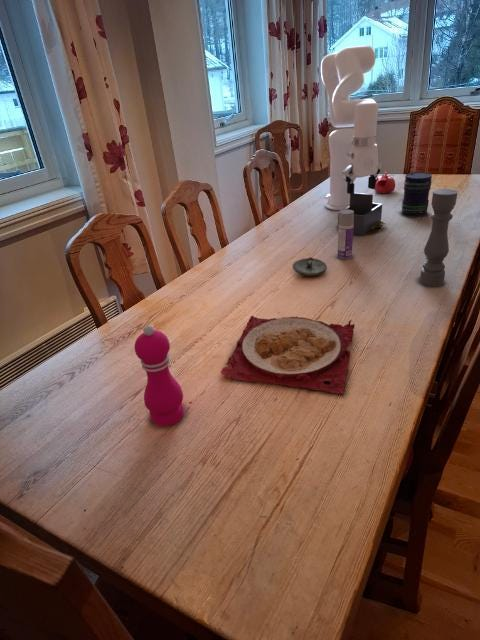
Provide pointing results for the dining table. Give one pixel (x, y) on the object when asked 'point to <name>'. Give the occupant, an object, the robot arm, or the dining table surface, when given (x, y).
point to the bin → (364, 212)
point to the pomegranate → (384, 184)
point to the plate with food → (292, 353)
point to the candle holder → (438, 238)
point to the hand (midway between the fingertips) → (361, 191)
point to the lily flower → (378, 225)
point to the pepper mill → (159, 378)
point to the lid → (309, 266)
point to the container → (345, 234)
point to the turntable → (372, 231)
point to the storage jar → (416, 194)
